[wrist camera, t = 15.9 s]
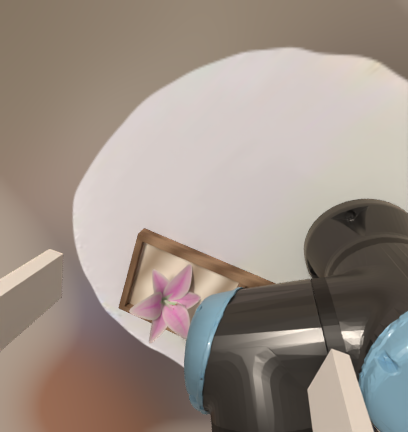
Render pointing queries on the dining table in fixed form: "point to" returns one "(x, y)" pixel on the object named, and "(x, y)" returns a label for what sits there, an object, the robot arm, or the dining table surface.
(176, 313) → the lily
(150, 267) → the tray
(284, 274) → the dining table surface
